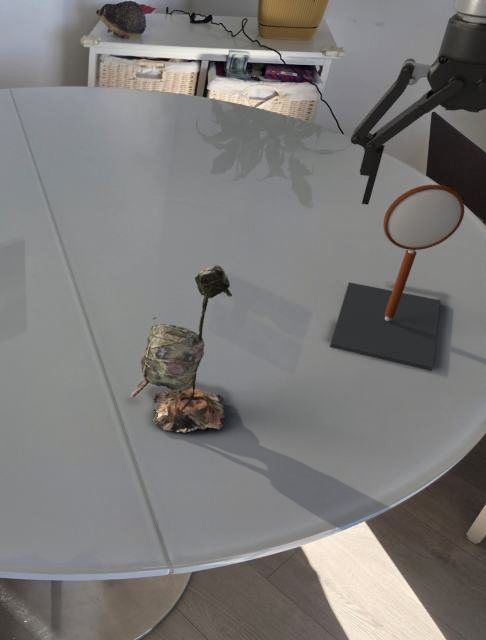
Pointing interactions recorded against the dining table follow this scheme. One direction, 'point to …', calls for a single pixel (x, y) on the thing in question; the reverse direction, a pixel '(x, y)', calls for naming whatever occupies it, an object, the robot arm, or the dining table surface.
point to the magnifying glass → (420, 227)
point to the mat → (388, 326)
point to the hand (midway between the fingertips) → (427, 208)
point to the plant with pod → (183, 367)
